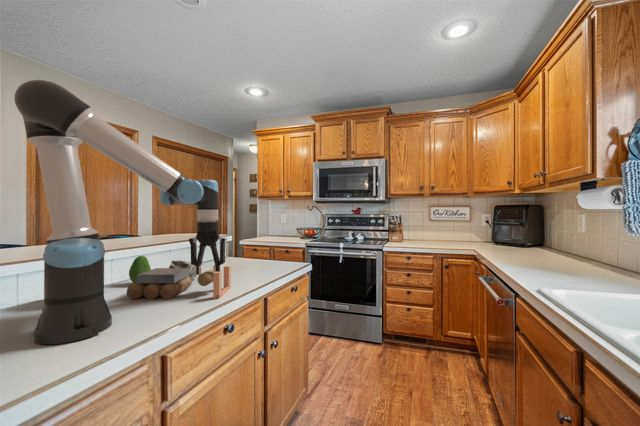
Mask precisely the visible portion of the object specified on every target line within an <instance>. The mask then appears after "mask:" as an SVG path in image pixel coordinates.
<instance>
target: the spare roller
mask: <svg viewBox="0 0 640 426" xmlns="http://www.w3.org/2000/svg"><path fill="white" fill-rule="evenodd" d="M197 276H198V277H197V283H198V285H199V286H202V287H207V286H208V285H210V284H211V283H212V284H213V268H211V269H209V270H206V271H204V273H202V274H200V275H197Z"/></svg>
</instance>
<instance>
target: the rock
mask: <svg viewBox="0 0 640 426" xmlns="http://www.w3.org/2000/svg"><path fill="white" fill-rule="evenodd" d="M170 263H171V264H170V265H169V267H168V268H189V276H188V277H190V279H191V281H192V282H193V281H194V280H195V277H197V276H198V275H197V274H196V266H195V265H192V264H191V261H186V260H175V259H173V260H172V261H171V262H170Z"/></svg>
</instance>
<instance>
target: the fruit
mask: <svg viewBox="0 0 640 426" xmlns="http://www.w3.org/2000/svg"><path fill="white" fill-rule="evenodd" d="M150 270H152V268H151V265H150V263H149V260H148V258H147V257H146V256H144V255H139V256H137V257H136V258H135V259H134V260H133V262H132V264H131V266H130V268H129V269H128V277H129V279H130V281H131V282H132V284H133V285H134V284H136V283H137V275H138V274H141V273H144V272H147V271H150Z"/></svg>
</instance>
